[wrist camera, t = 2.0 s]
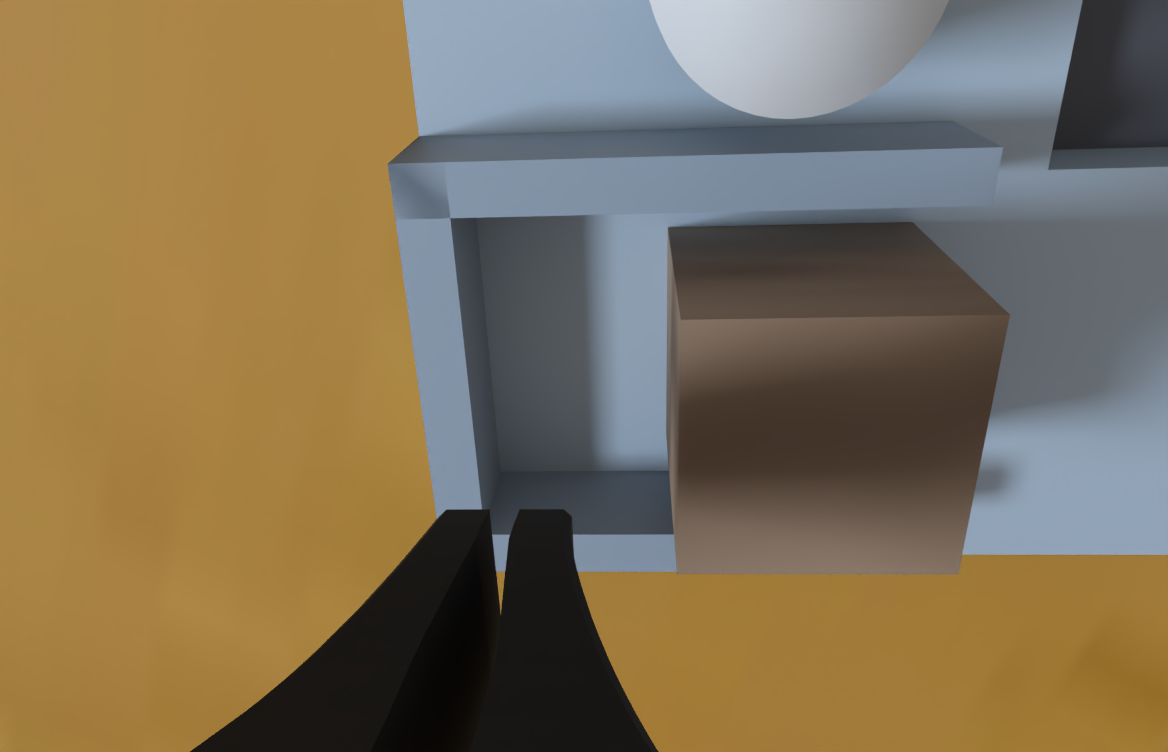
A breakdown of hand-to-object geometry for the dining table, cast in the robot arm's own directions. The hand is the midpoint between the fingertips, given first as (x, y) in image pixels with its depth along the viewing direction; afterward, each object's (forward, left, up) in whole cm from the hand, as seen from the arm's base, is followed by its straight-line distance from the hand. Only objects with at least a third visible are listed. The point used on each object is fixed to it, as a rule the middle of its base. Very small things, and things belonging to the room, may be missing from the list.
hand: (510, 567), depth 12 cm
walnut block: (0, -5, -8) cm, 9 cm away
